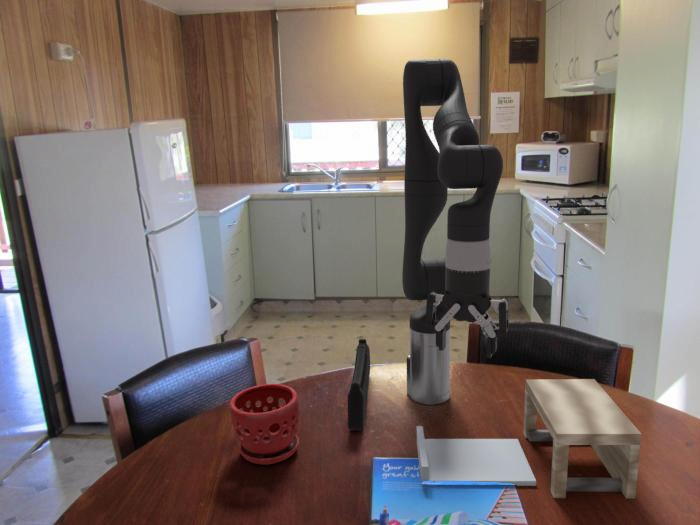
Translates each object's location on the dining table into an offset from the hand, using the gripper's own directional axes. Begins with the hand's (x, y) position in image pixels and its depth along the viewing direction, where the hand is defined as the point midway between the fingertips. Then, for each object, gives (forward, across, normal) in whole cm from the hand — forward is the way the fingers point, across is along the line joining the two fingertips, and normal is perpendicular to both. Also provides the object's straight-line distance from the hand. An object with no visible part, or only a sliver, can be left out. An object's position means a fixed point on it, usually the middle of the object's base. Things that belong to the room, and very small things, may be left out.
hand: (465, 352), depth 101 cm
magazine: (+23, -28, +17) cm, 40 cm away
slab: (+23, +1, +1) cm, 23 cm away
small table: (+23, +19, +8) cm, 31 cm away
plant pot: (+23, -37, -10) cm, 44 cm away
